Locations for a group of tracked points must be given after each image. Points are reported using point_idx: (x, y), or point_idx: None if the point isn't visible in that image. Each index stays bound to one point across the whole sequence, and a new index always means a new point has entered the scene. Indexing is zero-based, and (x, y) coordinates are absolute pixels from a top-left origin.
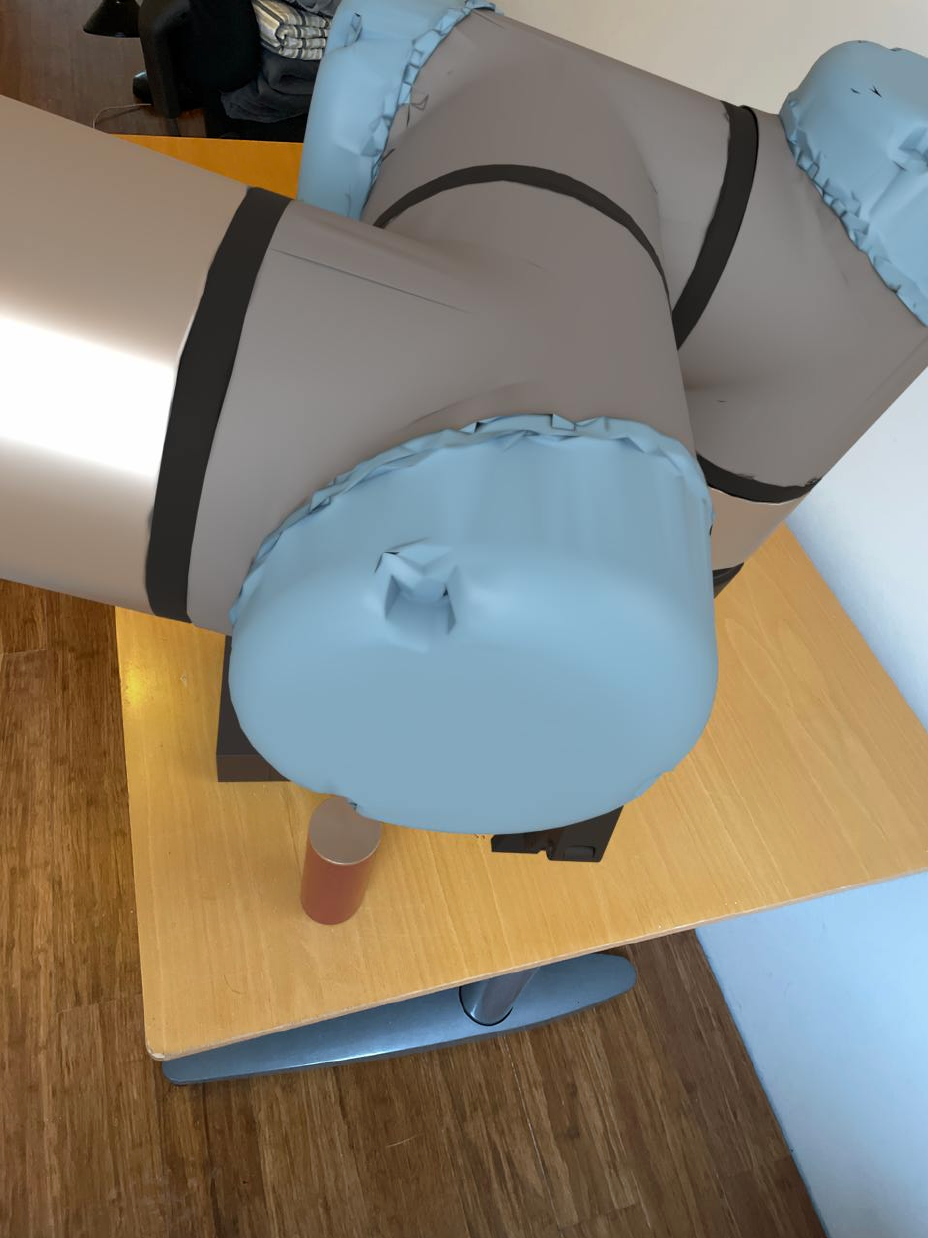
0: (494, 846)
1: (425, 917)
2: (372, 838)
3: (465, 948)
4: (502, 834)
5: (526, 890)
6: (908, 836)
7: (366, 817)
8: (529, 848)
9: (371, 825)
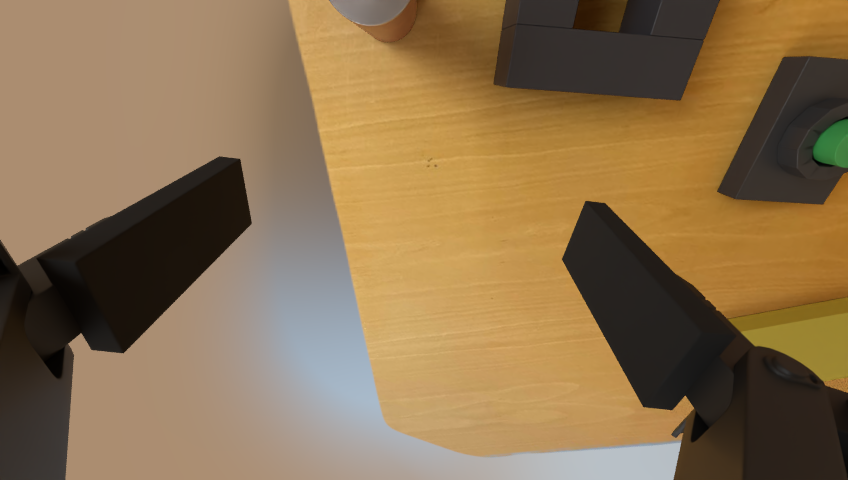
0: (213, 161)
1: (362, 101)
2: (352, 8)
3: (336, 133)
4: (193, 177)
5: (380, 192)
6: (401, 428)
7: (382, 3)
8: (101, 221)
9: (370, 9)
